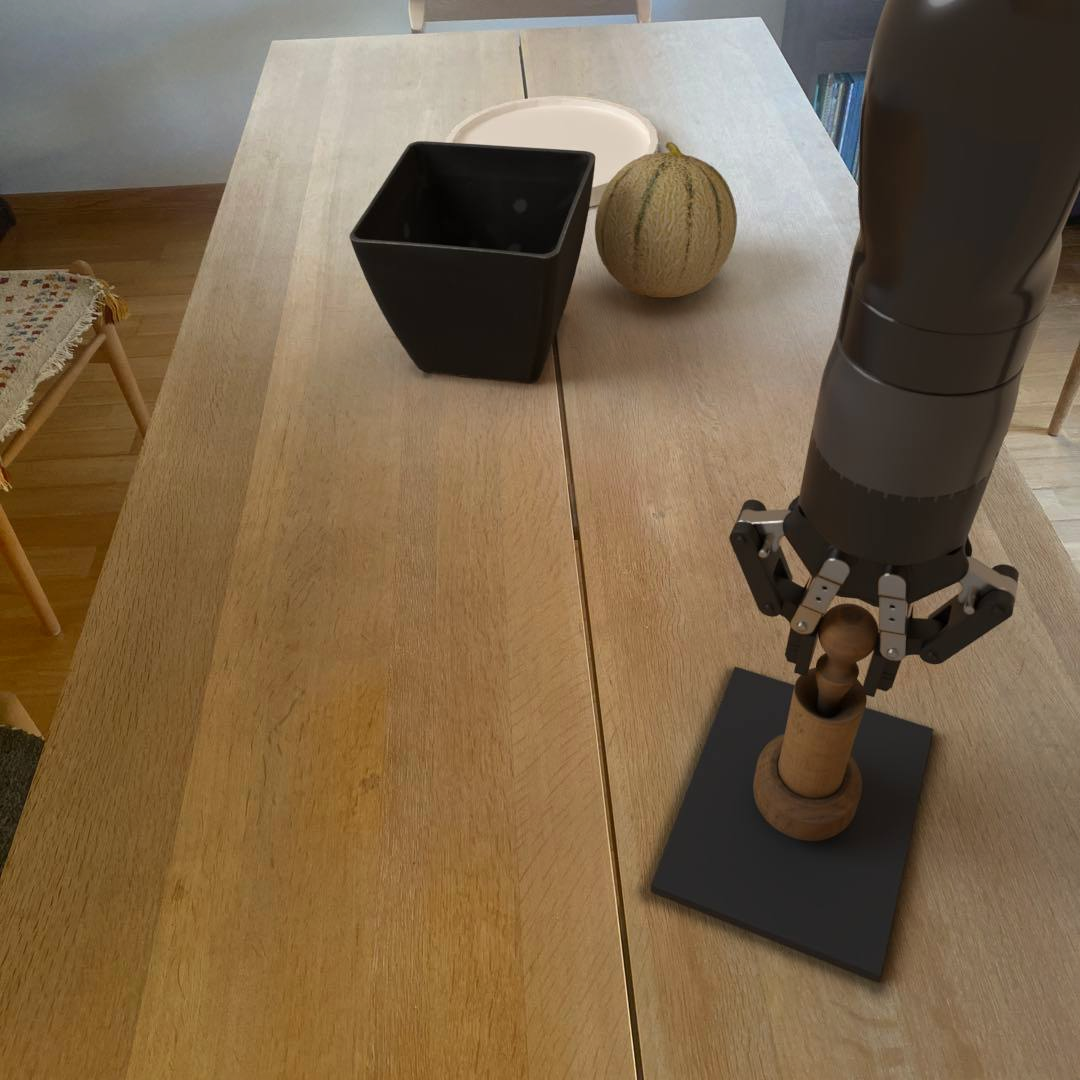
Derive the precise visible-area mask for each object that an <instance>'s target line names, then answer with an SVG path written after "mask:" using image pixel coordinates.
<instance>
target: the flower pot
mask: <svg viewBox="0 0 1080 1080" xmlns="http://www.w3.org/2000/svg"><path fill="white" fill-rule="evenodd" d="M594 169H595V155H594V154H593V153H591V152H587V151H577V150H561V149H545V148H529V147H513V146H496V145H480V144H464V143H446V142H445V141H444V142H443V141H431V140H430V141H427V140H418V141H413V142H411V143H409V144H408V145H407V146H406V148H405V149H404V151H403V152H402V154H401V155H400V157H399V158H398V160H397V161H396V163H395V164H394V166H393V168H392V169H391V171H390V172H389V173H388V175H387V177H386V178H385V180H384V182H383V183H382V184H381V186H380V188H379V190H378V191H377V192H376V194H375V195H374V197H373V199H372V200H371V201H370V203H369V205H368V206H367V208H366V209H365V210H364V212H363V214H362V215H361V217H360V218H359V219H358V221H357V222H356V223H355V225H354V227H353V229H352V230H351V232H350V233H349V236H348V238H349V240H350V243H351V247H352V249H353V252H354V254H355V257H356V259H357V262H358V264H359V266H360V269H361V270H362V273H363V276H364V278H365V280H366V282H367V284H368V288H369V289H370V291H371V293H372V296H373V297H374V299H375V302H376V303H377V305H378V308H379V309H380V311H381V313H382V315H383V316H384V319H385V320H386V322H387V324H388V325H389V328H390V329H391V330H392V332H393V334H394V335H395V337H396V339H397V340H398V342H399V343H400V345H401V346H402V348H403V349H404V350H405V352H406V353H407V355H408V356H409V358H410V359H411V362H413V363H414V365H415V367H416V368H417V369H419V370H420V371H421V372H423V373H424V372H425V373H430V374H431V373H433V374H441V375H451V376H459V377H468V378H475V379H488V380H496V381H504V382H505V381H506V382H516V383H522V384H523V383H524V384H526V383H527V384H532V383H535V382H537V381H538V380H539V379H540V378H541V377H542V374H543V371H544V368H545V365H546V363H547V360H548V357H549V354H550V352H551V348H552V346H553V343H554V340H555V338H556V335H557V333H558V329H559V327H560V324H561V321H562V318H563V316H564V312H565V310H566V308H567V307H566V306H567V304H568V300H569V297H570V294H571V290H572V286H573V283H574V279H575V276H576V271H577V267H578V264H579V260H580V255H581V251H582V246H583V242H584V239H585V233H586V228H587V223H588V222H587V221H588V218H589V217H588V216H589V210H590V207H589V205H590V199H591V192H592V185H593V177H594Z"/></svg>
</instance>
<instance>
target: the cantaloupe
mask: <svg viewBox="0 0 1080 1080" xmlns="http://www.w3.org/2000/svg"><path fill="white" fill-rule="evenodd" d="M665 148H666V149H667V150H668V151H669V152H660V151H658V153H654V154H649V155H647V154H645V155H644V156H642V157H640V158H638V159H635V160H633V161H632V162H630V163H628V164H627V165H626V166H624V167H623V168H622V169H621V170H620V171H618V173H617V174H616V175H615V176H614V177H613V178H612V179H611V180H610V182H609V183H608V185H607V186H606V189H605V191H604V193H603V195H602V197H601V200H600V203H599V205H597V208H596V215H595V220H594V221H595V222H594V234H595V237H594V239H595V243H596V249H597V252H598V255H599V258H600V260H601V263H602V265H603V266H604V267H605V268H606V270H607V272H608V274H609V275H611V277H612V278H613V279H614V280H615V281H616V283H618V284H619V285H621V286H622V287H623V288H625V289H627V290H628V291H630V292H631V293H634V294H638V295H642V296H647V297H651V298H677V297H678V298H679V297H682V296H687V295H690V294H692V293H694V292H697V291H699V290H701V289H702V288H703V287H706V286H707V285H708V284H709V283H710V282H711V281H712V280H713V279H715V277H716V276H717V275H718V273H719V272H720V270H721V269H722V268H723V266H724V264H725V263H726V262H727V260H728V258H729V255H730V253H731V252H732V249H733V246H734V243H735V238H736V234H737V227H738V213H737V206H736V204H735V198H734V196H733V194H732V193H733V192H732V191H731V188H730V186H729V184H728V182H727V181H726V179H725V178H724V176H723V175H722V174H721V173H720V172H719V170H717V169H716V168H715V167H713V165H711V164H709V163H707V162H706V161H704V160H702V159H699V158H698V157H696V156H693V155H686V154H684V153H683V152H682V151H681V150H680V149H679V146H677V145H676V143H674V142H672V141H666V142H665Z"/></svg>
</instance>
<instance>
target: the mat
mask: <svg viewBox="0 0 1080 1080" xmlns="http://www.w3.org/2000/svg"><path fill="white" fill-rule="evenodd" d="M794 686H795V684H793V683H789V682H786V681H783V680H779V679H777V678H775V677H774V678H773V677H770V676H767V675H763V674H761V673H758V672H755V671H751V670H748V669H745V668H743V667H742V668H741V667H738V666H734V667H733V670H732V673H731V675H730V678H729V680H728V683H727V686H726V689H725V690H724V693H723V696H722V699H721V701H720V704H719V706H718V709H717V711H716V714H715V716H714V719H713V722H712V725H711V727H710V730H709V733H708V735H707V737H706V740H705V743H704V746H703V748H702V750H701V753H700V756H699V758H698V761H697V763H696V766H695V769H694V771H693V774H692V776H691V778H690V782H689V785H688V787H687V790H686V792H685V795H684V797H683V800H682V803H681V805H680V808H679V810H678V812H677V815H676V819H675V821H674V824H673V826H672V829H671V830H670V833H669V837H668V839H667V841H666V844H665V846H664V849H663V852H662V854H661V857H660V860H659V862H658V865H657V868H656V869H655V873H654V875H653V878H652V880H651V883H650V893H653V894H656V895H658V896H660V897H663V898H664V899H665V898H666V899H668V900H671V901H673V902H676V903H678V904H680V905H683V906H686V907H688V908H691V909H693V910H695V911H698V912H701V913H703V914H706V915H708V916H711V917H712V918H716V919H718V920H720V921H723V922H726V923H728V924H730V925H733V926H735V927H739V928H740V929H743V930H745V931H748V932H751V933H752V934H755V935H758V936H761V937H764V938H766V939H768V940H770V941H774V942H776V943H778V944H780V945H783V946H786V947H788V948H791V949H793V950H795V951H799V952H801V953H803V954H806V955H808V956H810V957H813V958H816V959H819V960H821V961H824V962H826V963H828V964H831V965H833V966H836V967H839V968H841V969H843V970H846V971H849V972H851V973H853V974H856V975H859V976H861V977H864V978H866V979H868V980H871V981H872V982H873V981H874V982H876V983H879V981H880V979H881V978H882V974H883V969H884V964H885V961H886V955H887V950H888V945H889V941H890V935H891V931H892V927H893V922H894V917H895V911H896V908H897V904H898V900H899V899H898V898H899V893H900V889H901V884H902V879H903V876H904V875H903V874H904V871H905V864H906V860H907V856H908V851H909V846H910V841H911V837H912V832H913V827H914V823H915V818H916V813H917V808H918V804H919V799H920V795H921V794H920V793H921V789H922V784H923V779H924V775H925V771H926V767H927V761H928V756H929V751H930V746H931V743H932V739H933V738H932V737H933V733H934V728H932V727H929V726H926V725H923V724H919V723H916V722H913V721H911V720H907V719H903V718H900V717H897V716H894V715H892V714H891V715H890V714H888V713H884V712H881V711H878V710H875V709H872V708H869V707H867V706H866V707H865V710H864V713H863V716H862V719H861V721H860V724H859V727H858V730H857V734H856V737H855V740H854V743H853V746H852V750H851V753H850V755H851V756H852V757H853V759H854V760H855V762H856V764H857V766H858V768H859V771H860V774H861V779H862V791H861V796H860V800H859V803H858V806H857V809H856V812H855V815H854V817H853V819H852V820H851V822H850V823H849V825H848V826H847V827H846V828H845V829H844V830H843V831H841V832H840V833H839V834H837V835H835V836H833V837H831V838H828V839H824V840H819V841H806V840H800V839H796V838H793V837H790V836H788V835H786V834H784V833H782V832H780V831H778V830H777V829H776V828H774V827H773V826H772V825H771V824H770V823H769V822H768V821H767V820H766V819H765V818H764V817H763V815H762V814H761V812H760V811H759V809H758V807H757V804H756V801H755V798H754V791H753V783H754V777H755V772H756V767H757V762H758V759H759V756H760V754H761V752H762V751H763V749H764V748H765V747H766V745H767V744H768V743H769V742H771V741H772V740H773V739H775V738H776V737H778V736H780V735H782V734H785V731H786V726H787V721H788V716H789V711H790V706H791V700H792V695H793V690H794Z"/></svg>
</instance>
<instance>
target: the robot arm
mask: <svg viewBox="0 0 1080 1080" xmlns="http://www.w3.org/2000/svg"><path fill="white" fill-rule="evenodd" d="M874 33H875V34H874V38H873V41H872V45H871V49H870V54H869V58H868V62H867V67H866V72H865V79H864V84H863V90H862V96H861V97H862V98H861V105H860V107H861V108H860V115H859V116H860V117H859V118H860V120H859V131H858V133H859V134H858V135H859V136H858V174H857V175H858V177H857V178H858V179H857V180H858V181H857V184H858V185H857V207H858V219H859V232H858V235H857V238H856V241H855V245H854V248H853V251H852V252H853V253H852V257H851V260H850V265H849V270H848V274H847V279H846V283H845V284H846V285H845V289H844V295H843V299H842V305H841V310H840V314H839V319H838V326H837V330H836V333H835V338H834V341H833V344H832V347H831V349H830V352H829V355H828V357H827V360H826V363H825V365H824V369H823V372H822V376H821V381H820V385H819V390H818V395H817V400H816V406H815V411H814V416H813V422H812V427H811V431H810V432H811V434H810V437H809V443H808V448H807V454H806V457H805V458H806V459H805V464H804V469H803V474H802V480H801V485H800V489H799V490H800V491H799V494H798V495H797V496H796V497H795V498H793V499H792V501H791V502H790V503H789V505H788V508H787V509H770V510H769V509H767V507H766V505H765V504H764V503H763V502H762V501H760V500H757V499H748V500H745V501H744V502H743V504H742V507H741V509H740V511H739V513H738V515H737V518H736V521H735V523H734V524H733V528H732V530H731V532H730V533H729V534H730V535H729V537H728V538H729V543H730V545H731V547H732V550H733V552H734V555H735V556H736V557H735V558H736V559H737V561H738V564H739V566H740V569H741V571H742V573H743V577H744V578H745V580H746V583H747V586H748V588H749V589H750V592H751V595H752V597H753V599H754V603H755V605H756V606H757V607H756V608H757V609H758V611H759V612H760V613H761V614H762V615H764V616H767V617H771V618H773V617H774V618H775V617H777V616H779V615H780V616H781V617H783V618H784V619H785V620H787V621H788V623H789V625H790V627H789V633H788V637H787V643H786V647H785V652H784V657H785V659H786V661H787V662H788V663H792V664H794V665H795V666H794V670H793V674H798V675H799V676H800V675H803V676H807V674H808V670H809V669H810V667H811V664H812V660H813V658H814V654H815V651H816V647H817V643H818V641H819V637H818V629H819V624H820V621H821V619H822V617H823V616H824V615H825V613H826V612H827V611H828V610H829V608H830V606H831V604H832V602H833V600H834V599H835V597H838V598H839V597H840V598H844V599H845V598H846V599H855V600H859V601H861V602H864V603H865V604H867V605H870V606H872V607H875V608H878V630H879V637H878V641H877V643H876V646H875V648H874V650H873V651H872V652H871V656H870V659H869V664H868V667H867V670H866V673H865V678H864V681H863V684H862V686H863V688H862V692H861V694H865V695H866V696H867V697H871V698H875V696H876V693H877V691H878V690H879V691H882V692H888V691H889V690H890V689H892V688H893V686H894V683H895V680H896V677H897V675H898V672H899V669H900V665H901V663H902V661H903V660H904V659H905V657H908V656H919V658H920V659H921V660H922V661H923V662H924V663H927V664H928V665H929V664H930V665H941V664H943V663H945V662H946V661H948V660H949V659H950V658H952V657H953V656H955V655H956V654H958V653H959V652H961V651H962V650H964V649H965V648H966V647H969V646H970V645H971V644H973V643H974V642H975V641H977V640H978V639H980V638H981V637H983V636H985V635H987V633H989V632H990V631H993V629H995V628H997V626H999V625H1002V623H1003V622H1005V621H1007V620H1008V619H1010V618H1011V617H1012V616H1013V614H1014V608H1015V603H1016V598H1017V592H1018V583H1019V577H1020V573H1019V571H1018V569H1017V568H1016V567H1014V566H1012V565H1009V564H1004V563H1003V564H1001V563H1000V564H997V565H995V566H993V567H990V566H988V565H986V564H985V563H983V562H981V561H980V560H978V559H976V558H975V557H973V556H972V555H973V546H972V542H971V540H970V537H969V534H970V532H971V529H972V526H973V524H974V521H975V518H976V516H977V513H978V510H979V507H980V505H981V502H982V499H983V497H984V494H985V491H986V488H987V486H988V483H989V481H990V479H991V475H992V473H993V470H994V469H995V468H994V467H995V465H996V461H997V458H998V457H999V455H1000V451H1001V449H1002V445H1003V443H1004V441H1005V438H1006V436H1007V434H1008V432H1009V428H1010V425H1011V422H1012V419H1013V416H1014V413H1015V410H1016V404H1017V400H1018V396H1019V391H1020V384H1021V379H1022V374H1023V371H1024V367H1025V363H1026V361H1027V360H1028V356H1029V353H1030V351H1031V348H1032V345H1033V342H1034V339H1035V338H1036V334H1037V332H1038V329H1039V326H1040V323H1041V321H1042V319H1043V316H1044V313H1045V309H1046V308H1047V304H1048V300H1049V298H1050V295H1051V292H1052V289H1053V285H1054V283H1055V280H1056V276H1057V272H1058V268H1059V265H1060V259H1061V254H1062V248H1063V239H1062V238H1063V237H1062V236H1063V235H1062V232H1063V230H1064V228H1065V227H1066V224H1067V221H1068V219H1069V216H1070V214H1071V211H1072V209H1073V206H1074V204H1075V202H1076V200H1077V198H1078V195H1079V192H1080V0H886V1H885V3H884V6H883V9H882V12H881V14H880V16H879V20H878V22H877V27H876V30H875V32H874ZM784 537H785V539H786V540H787V541H788V543H789V545H790V546H791V548H792V550H793V551H794V552H795V554H796V555H797V556H798V558H799V560H800V561H801V563H802V564H803V566H804V567H805V569H806V570H807V572H808V573H809V575H808V578H807V580H805V583H804V585H803V586H802V585H801V584H798V583H796V582H795V581H793V580H794V579H793V577H794V576H793V574H792V572H791V569H790V567H789V564H788V560H787V559H786V555H785V553H784V551H783V548H782V546H781V543H782V540H783V538H784ZM957 583H959V588H958V593H957V594H955V595H954V596H952V597H951V598H950V599H948V601H946V602H945V603H944V604H942V605H940V607H938V608H936V609H935V610H934V611H933V612H931V613H930V614H929V615H928V616H927V618H923V617H922V618H921V617H920V618H919V617H915V603H916V602H917V601H921V600H923V599H924V598H926V597H929V596H931V595H933V594H935V593H938V592H940V591H942V590H944V589H946V588H948V587H949V588H950V587H951V586H953V585H955V584H957Z"/></svg>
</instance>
